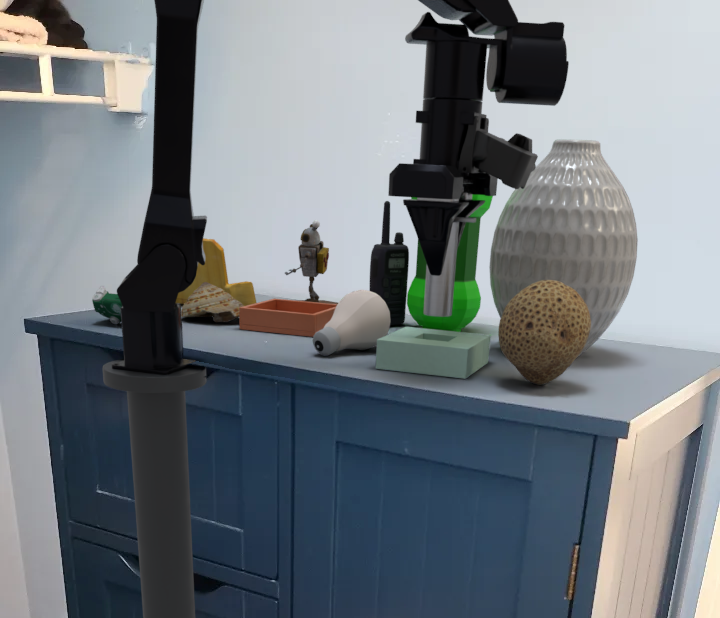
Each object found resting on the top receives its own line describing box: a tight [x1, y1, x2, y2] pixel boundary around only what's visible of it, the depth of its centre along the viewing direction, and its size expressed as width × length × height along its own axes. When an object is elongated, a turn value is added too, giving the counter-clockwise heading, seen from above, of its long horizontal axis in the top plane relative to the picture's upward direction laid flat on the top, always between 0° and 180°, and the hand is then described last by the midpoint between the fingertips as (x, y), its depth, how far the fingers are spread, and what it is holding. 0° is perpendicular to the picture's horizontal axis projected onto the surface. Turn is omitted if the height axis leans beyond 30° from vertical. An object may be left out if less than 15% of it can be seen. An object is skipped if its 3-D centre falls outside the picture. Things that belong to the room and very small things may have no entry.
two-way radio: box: [369, 200, 410, 326], centre depth 123 cm, size 6×4×15 cm
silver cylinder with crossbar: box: [423, 217, 476, 317], centre depth 98 cm, size 3×6×10 cm, turn 69°
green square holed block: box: [375, 326, 492, 380], centre depth 102 cm, size 10×10×3 cm
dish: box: [238, 298, 337, 338], centre depth 121 cm, size 10×10×3 cm
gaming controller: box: [91, 285, 122, 325], centre depth 118 cm, size 9×4×6 cm
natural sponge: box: [497, 280, 591, 386], centre depth 93 cm, size 9×9×10 cm
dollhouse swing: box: [175, 237, 257, 306], centre depth 134 cm, size 10×10×9 cm
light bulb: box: [312, 289, 391, 357], centre depth 107 cm, size 7×7×11 cm
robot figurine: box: [284, 219, 339, 304], centre depth 131 cm, size 11×9×12 cm
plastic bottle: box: [406, 194, 494, 332], centre depth 118 cm, size 10×11×25 cm
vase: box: [488, 138, 639, 357], centre depth 107 cm, size 16×16×22 cm
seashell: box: [181, 282, 244, 323], centre depth 123 cm, size 8×6×8 cm
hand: (440, 273), depth 98 cm, fingers closed on silver cylinder with crossbar, 3 cm apart
